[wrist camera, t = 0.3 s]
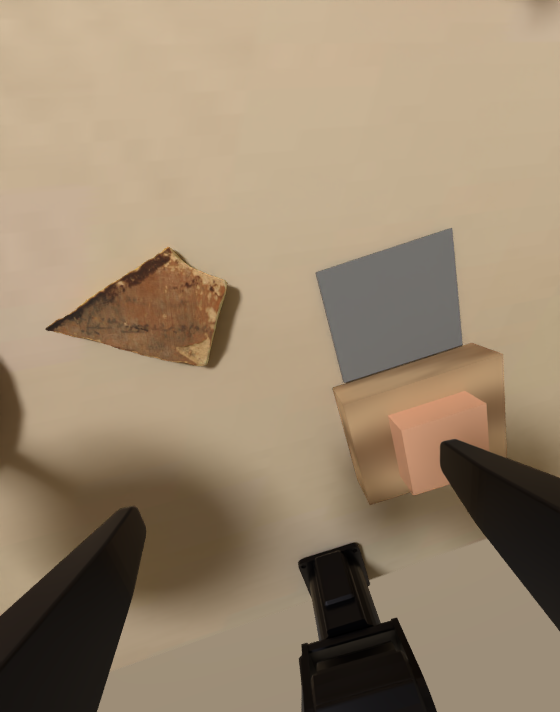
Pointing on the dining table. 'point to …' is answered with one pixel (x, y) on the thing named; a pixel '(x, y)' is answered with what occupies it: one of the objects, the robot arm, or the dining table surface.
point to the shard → (153, 311)
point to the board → (410, 389)
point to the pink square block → (435, 437)
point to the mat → (393, 305)
